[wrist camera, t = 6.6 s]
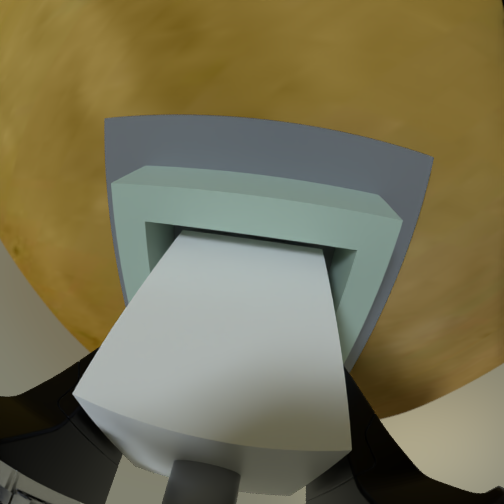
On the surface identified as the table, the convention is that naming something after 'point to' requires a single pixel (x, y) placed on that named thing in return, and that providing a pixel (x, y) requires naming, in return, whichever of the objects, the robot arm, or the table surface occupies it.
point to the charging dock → (267, 200)
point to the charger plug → (225, 371)
